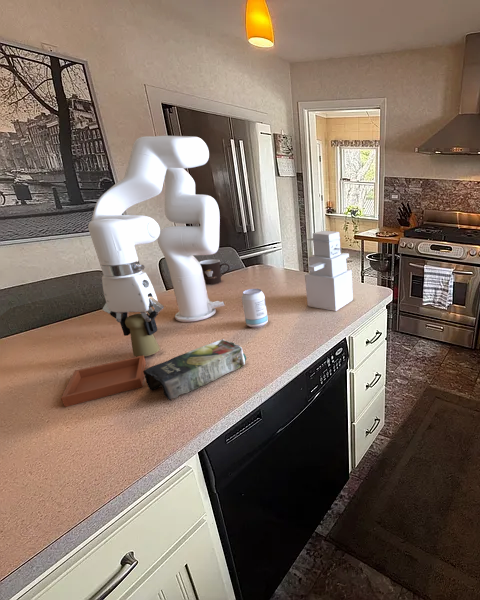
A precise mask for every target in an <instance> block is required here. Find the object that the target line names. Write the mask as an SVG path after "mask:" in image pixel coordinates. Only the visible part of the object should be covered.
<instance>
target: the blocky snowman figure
mask: <svg viewBox="0 0 480 600" xmlns="http://www.w3.org/2000/svg"><path fill="white" fill-rule="evenodd" d="M306 241H311V242H312V245H313V255H309V256H308V266H307V267H308V268H307V271H309V272H307V273H305V274H304V282H305V292H306V302H307V307H312V308H316V309H322V310H327V311H334V312H337V311H338V310H340V309H342V308H343V307H345V306H346V305H348V304H350V303H351V302H352V301H354V294H353V293H354V291H353V290H354V289H353V271H352V269H348V268H347V264H348V263H347V259H348V258H350V253H348V252H343V253H342V252H341V237H340V231H332V230H321V231H316V232H313V233H312V237H310V238H307V239H306Z"/></svg>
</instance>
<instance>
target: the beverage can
mask: <svg viewBox="0 0 480 600" xmlns="http://www.w3.org/2000/svg"><path fill="white" fill-rule="evenodd" d="M241 303H242V307H243V308H242V310H243V315H244V321H245V325H246V326H247V327H250V328H253V329H255V328H257V329H258V328H260V327H263V326H265V325H266V324H267V323H268V321H269V319H268V311H267V305H266V304H267V303H266V297H265V294H264V292H263V291H262V289H260V288H249V289H245V290H244V291H242V294H241Z"/></svg>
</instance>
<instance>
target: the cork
mask: <svg viewBox="0 0 480 600" xmlns="http://www.w3.org/2000/svg"><path fill="white" fill-rule="evenodd" d="M144 322H145V319H144V318H143V316H142V315H141V313H135V314H130V315H129V317H127V318H126V320H125V324H126V326H127V327H128V328H129V329H130V334H129V335H130V341H131V350H132V356H133V357H138V356H142V355H144V357H148V356H151V355H154V354H156V353H157V352H159V351H160V350H161V347H160V345H159V344H158V343H159V342H158V341H157V339H156V337H155V335H154V333H153V334H152V335H147V332H146V329H145V326H144Z"/></svg>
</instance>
